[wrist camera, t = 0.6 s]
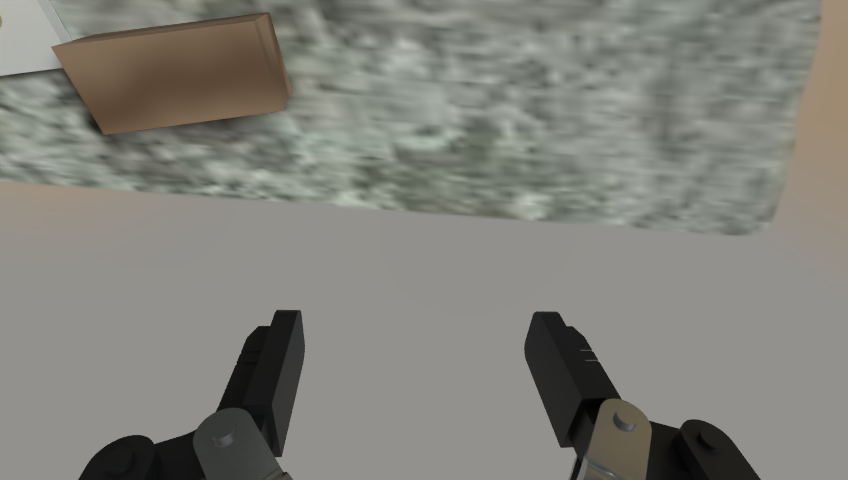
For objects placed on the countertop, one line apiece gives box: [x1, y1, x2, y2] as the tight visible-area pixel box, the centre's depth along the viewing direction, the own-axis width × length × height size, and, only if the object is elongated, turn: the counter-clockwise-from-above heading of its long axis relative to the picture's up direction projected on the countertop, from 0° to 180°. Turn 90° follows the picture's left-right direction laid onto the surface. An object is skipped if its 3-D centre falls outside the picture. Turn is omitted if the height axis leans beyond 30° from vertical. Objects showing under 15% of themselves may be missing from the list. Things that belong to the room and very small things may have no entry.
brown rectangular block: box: [51, 12, 292, 135], centre depth 25 cm, size 5×11×4 cm, turn 96°
